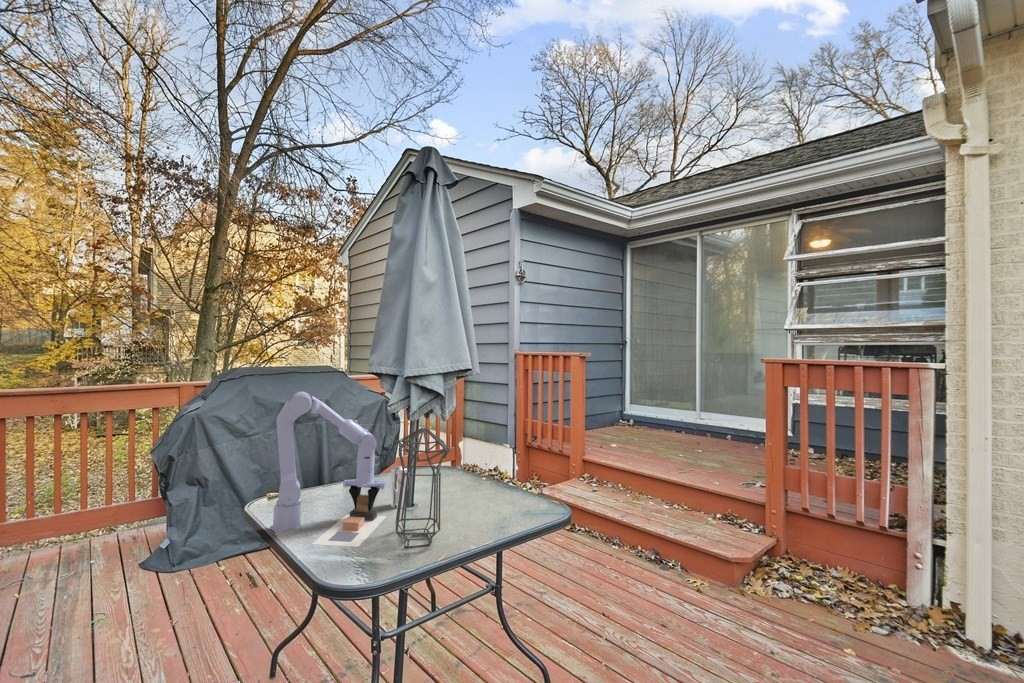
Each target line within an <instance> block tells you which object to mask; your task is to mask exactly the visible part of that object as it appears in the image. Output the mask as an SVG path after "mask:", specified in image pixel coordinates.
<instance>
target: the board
mask: <svg viewBox="0 0 1024 683" xmlns="http://www.w3.org/2000/svg"><path fill="white" fill-rule="evenodd" d="M348 517H350V513H348V514H345V515H344V516H343V517H342V518H340V519H339V520H338V521H337V522H336V523H334V525H333V526H331V527H330V528H329V529H327V531H325V532H324V533H323V534H322V535H320V536H319V537H318V538H317V539H316V540H314V541H313V542H312V543H311V545H317V546H336V547H337V546H338V547H350V548H351V547H353V548H358V547H360V546H361V545H362V544H363V542H364V541H366V539H367V538H368V537H369V536H370V535H371V534H372V533H373V532H374V530H375V529H376V528H377V527H378V526H379V525H380V524H381V523H382V522H383V521H384V520H385V518H387V515H377V517H376V518H375V519H374V520H373V521H364V526H363V527H362V528H361V529H360V530H359V531H350V530H343V522H344V521H345V520H346V519H347V518H348Z"/></svg>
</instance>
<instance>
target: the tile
mask: <svg viewBox="0 0 1024 683" xmlns="http://www.w3.org/2000/svg"><path fill="white" fill-rule="evenodd" d="M363 526H364V517H348V518H347V519H346V520H345V521H344V522H343V530H350V531H359V530H360V529H361V528H362V527H363Z"/></svg>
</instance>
